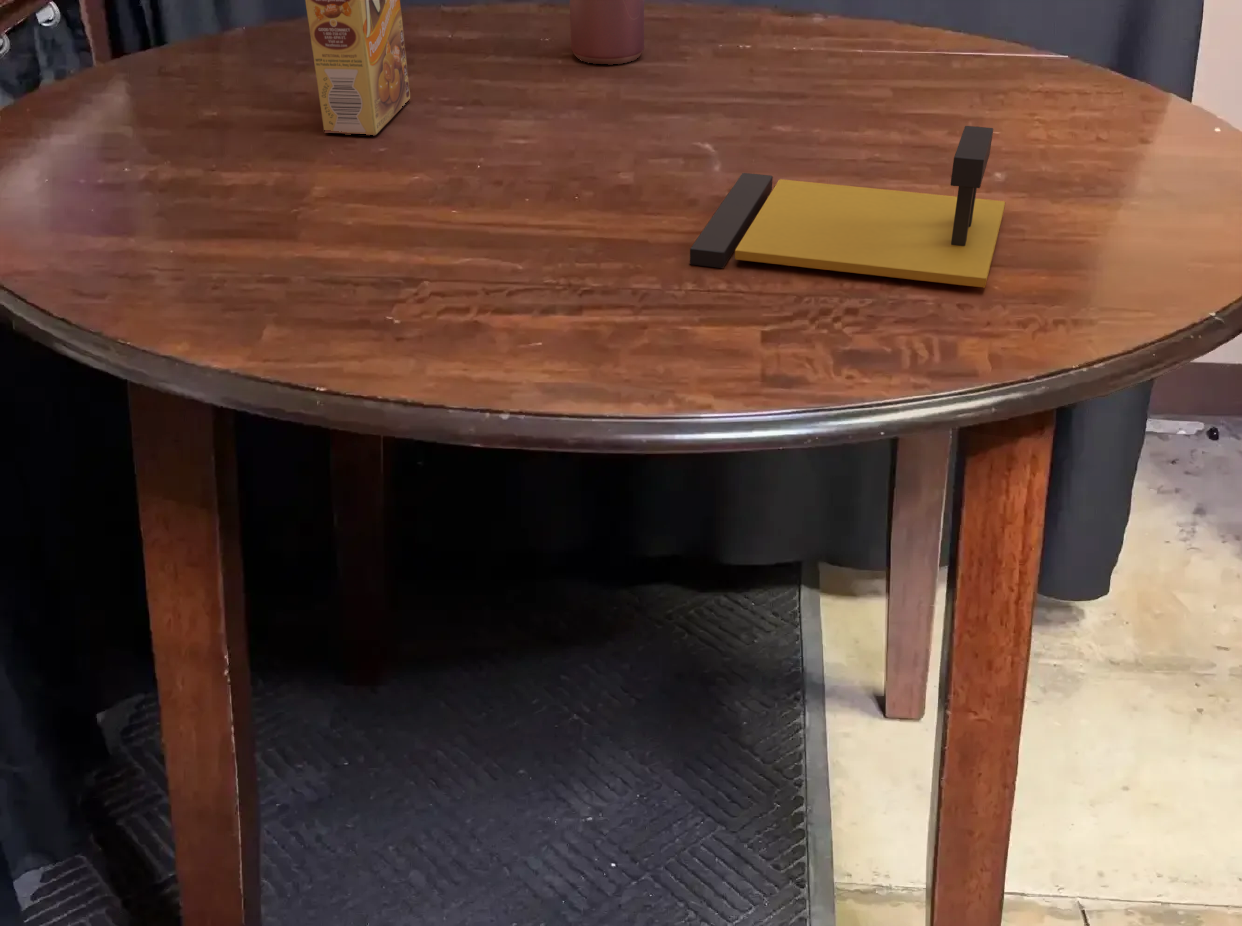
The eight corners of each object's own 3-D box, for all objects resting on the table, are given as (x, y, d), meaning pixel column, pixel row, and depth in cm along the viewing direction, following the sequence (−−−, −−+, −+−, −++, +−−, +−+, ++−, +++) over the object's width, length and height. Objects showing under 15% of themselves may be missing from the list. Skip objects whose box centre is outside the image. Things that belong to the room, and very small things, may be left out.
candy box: (378, 138, 99) (351, -102, 90) (320, 136, 99) (288, -103, 90) (412, 100, 106) (391, -126, 97) (358, 98, 106) (332, -127, 97)
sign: (1004, 210, 86) (1019, 112, 82) (985, 288, 76) (1001, 182, 73) (778, 188, 89) (784, 93, 86) (734, 259, 80) (738, 157, 76)
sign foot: (772, 190, 90) (773, 175, 89) (723, 268, 80) (724, 252, 79) (741, 187, 90) (742, 172, 90) (689, 265, 80) (689, 248, 80)
